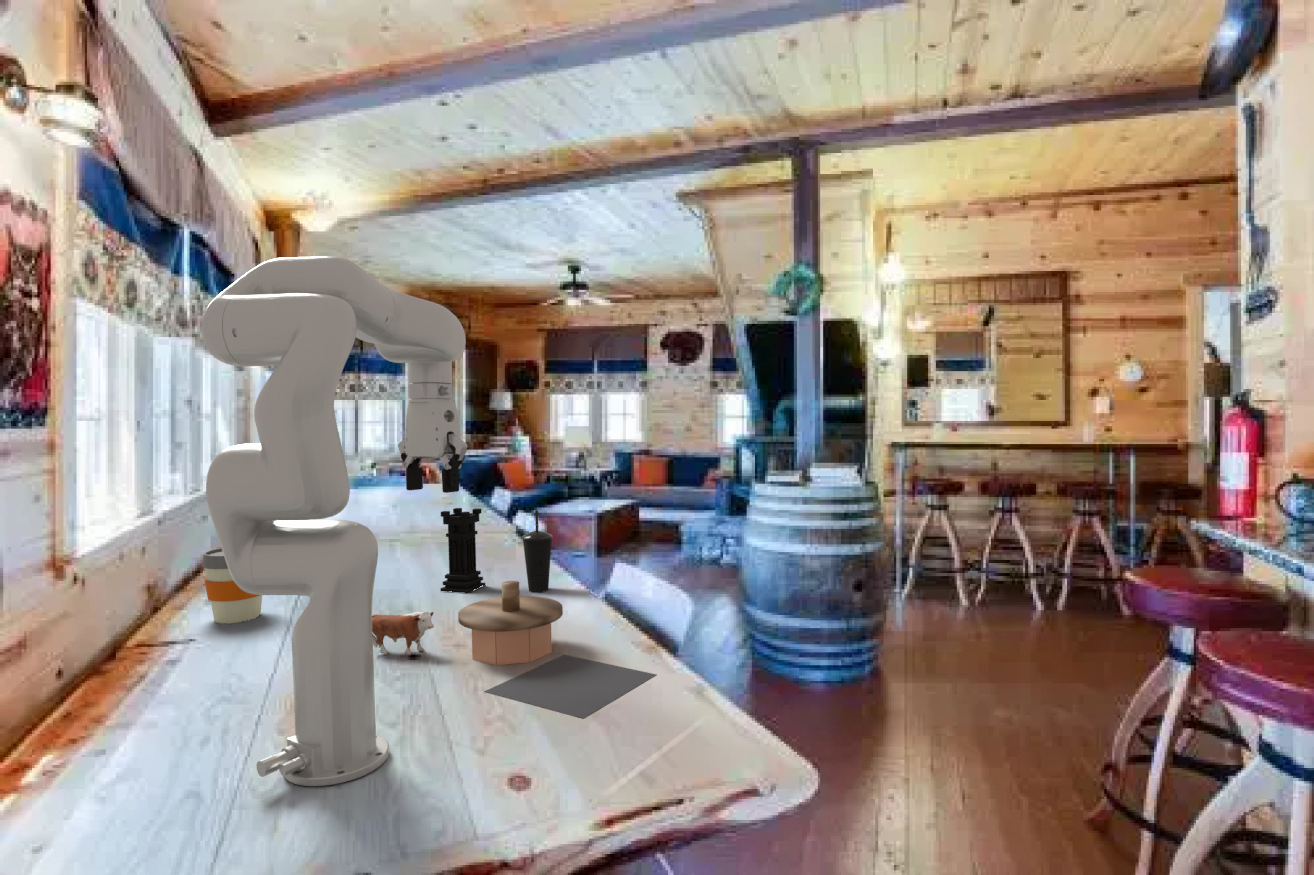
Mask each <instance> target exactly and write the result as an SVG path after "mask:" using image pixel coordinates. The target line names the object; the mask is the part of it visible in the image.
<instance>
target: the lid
mask: <svg viewBox="0 0 1314 875" xmlns="http://www.w3.org/2000/svg"><path fill="white" fill-rule="evenodd" d="M457 614H458V615H457V617H458V618H457V619H458V620H457V621H458V624H460V625H461V626H462V627H463V628H466V629H470V630H472V629H473V630H480V631H492V632H503V631H518V630H525V629H531V628H536V627H540V626H544V625H547V624H550V623H551V624H552V623H554V622H556V621H558V620H559V619H561V617H562V616H563V615H564V612H563V605H562V603H561V602H560V601H558V600H555V599H552V598H549V597H543V596H533V595H532V596H529V595H524V596H523V595H520V581H518V580H505V581H503V582H501V597H495V598H488V599H484V600H480V601H476V602H473V603H470V604H467V605H466V606H464V607H462V608H461V609H459V611H458V612H457Z"/></svg>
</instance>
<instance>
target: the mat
mask: <svg viewBox="0 0 1314 875" xmlns="http://www.w3.org/2000/svg"><path fill="white" fill-rule="evenodd" d="M657 675H658V674H656V673H653V672H647V671H642V670H637V669H632V668H628V667H624V666H619V665H615V664H609V663H606V662H605V663H604V662H600V661H595V660H591V659H588V658H587V659H585V658H581V657H578V656H574V655H568V654H562V655H559V656H557V657H556V658H554V659H551V660H549V661H547V662H545V663H543V664H540V665H538V666H537V667H534V668H532V669H530V670H527V671H525V672H523V673H521V674H519V675H516V676H514V677H513V678H511V679H508V680H506V681H504V682H502V683H499V684H497V685H494V686H493V687H491V688H489V689H486V690H484V691H483V692H484V693H486V694H490V695H494V696H498V697H502V698H505V699H509V700H513V701H517V702H519V703H524V704H527V705H531V706H534V707H539V708H542V709H545V710H549V711H553V712H556V713H559V714H560V713H561V714H563V715H568V716H571V717H575V718H578V719H582V720H584V719H586V718H587V717H589V716H591V715H592V714H594V713H595V712H597V711H599V710H601V709H602V708H604V707H606V706H607V705H609V704H611V703H612V702H614V701H616V700H618V699H619V698H621V697H622V696H625V695H626V694H627V693H629V692H631V691H632V690H634V689H636V688H638V687H639V686H641V685H642V684H645V683H646V682H647V681H649V680H651V679H652V678H654V677H656V676H657Z"/></svg>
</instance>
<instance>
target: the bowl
mask: <svg viewBox="0 0 1314 875" xmlns="http://www.w3.org/2000/svg"><path fill="white" fill-rule="evenodd" d="M552 648H553V647H552V623H550V624H547V625H544V626H540V627H536V628H531V629H525V630H518V631H503V632H492V631H480V630H473V629H471V651H472V652H471V655H472V656H471V657H472V660H474V661H477V662H482V663H486V664H490V665H493V666H494V665H495V666H499V665H510V664H511V665H512V664H514V665H515V664H523V663H531V662H533V661H536V660H538V659H540V658H542V657H544V656H546V655H549V654H551V653H552V650H553V649H552Z"/></svg>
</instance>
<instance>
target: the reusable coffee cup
mask: <svg viewBox="0 0 1314 875" xmlns="http://www.w3.org/2000/svg"><path fill="white" fill-rule="evenodd" d="M201 566H202V568H203V569H204V574H205V578H204V585H205V592H206V596H207V599H208V601H210V605H211V611H212V616H213V621H214V623H216V624H225V623H226V624H237V623H243V622H242V621H244V622H247V621H246V620H248V621H250V620H249V619H252V620H254V619H257V618H259V617H260V616H261V613H262V602H263V595H255V594H250V593H247V592H245V591H243V590H242V589H240V588H239V587H238V586H237V585H236V583H235V582H234V580H233V579H232V576H231V574H230V572H229V569H228V566H227V563H226V560H225V557H224V554H223V551H222V548H214V549H210V550H207V551H205V552H203V554H202V564H201ZM259 615H260V616H259ZM258 616H259V617H258ZM256 617H257V618H256Z"/></svg>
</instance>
